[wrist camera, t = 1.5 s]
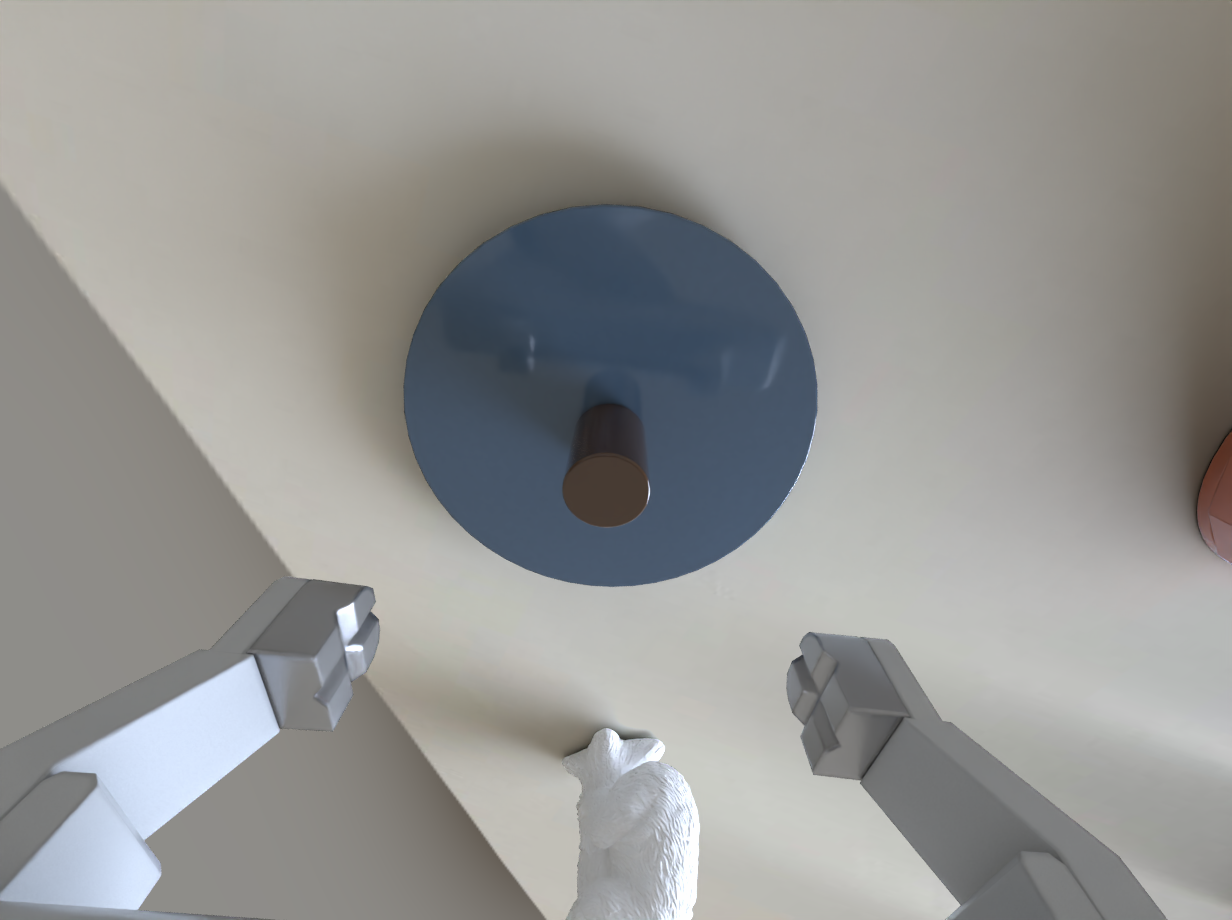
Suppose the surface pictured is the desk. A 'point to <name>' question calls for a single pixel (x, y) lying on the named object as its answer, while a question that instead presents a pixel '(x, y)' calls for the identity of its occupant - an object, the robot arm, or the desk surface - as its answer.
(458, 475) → the lid
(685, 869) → the koala figurine
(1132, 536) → the desk surface
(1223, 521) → the pot
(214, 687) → the robot arm
